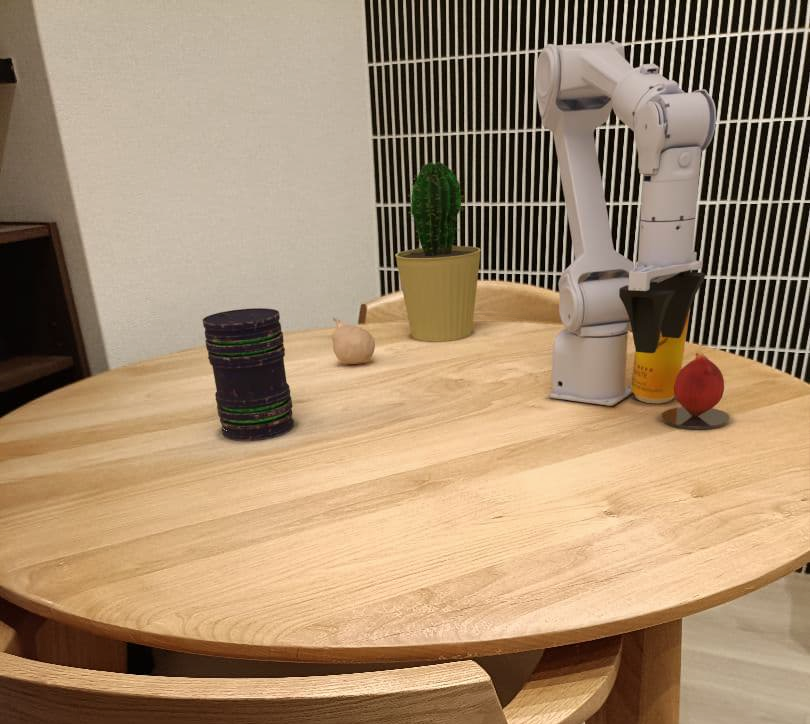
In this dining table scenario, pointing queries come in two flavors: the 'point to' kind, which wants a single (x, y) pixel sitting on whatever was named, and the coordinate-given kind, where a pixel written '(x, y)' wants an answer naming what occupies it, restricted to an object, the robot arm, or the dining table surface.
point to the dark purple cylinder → (249, 373)
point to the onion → (699, 385)
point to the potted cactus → (438, 261)
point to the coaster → (695, 419)
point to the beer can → (659, 369)
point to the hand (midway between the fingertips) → (658, 344)
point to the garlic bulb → (352, 343)
